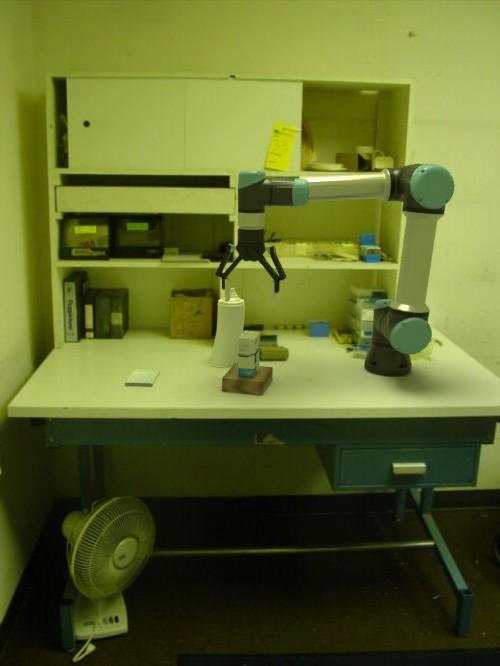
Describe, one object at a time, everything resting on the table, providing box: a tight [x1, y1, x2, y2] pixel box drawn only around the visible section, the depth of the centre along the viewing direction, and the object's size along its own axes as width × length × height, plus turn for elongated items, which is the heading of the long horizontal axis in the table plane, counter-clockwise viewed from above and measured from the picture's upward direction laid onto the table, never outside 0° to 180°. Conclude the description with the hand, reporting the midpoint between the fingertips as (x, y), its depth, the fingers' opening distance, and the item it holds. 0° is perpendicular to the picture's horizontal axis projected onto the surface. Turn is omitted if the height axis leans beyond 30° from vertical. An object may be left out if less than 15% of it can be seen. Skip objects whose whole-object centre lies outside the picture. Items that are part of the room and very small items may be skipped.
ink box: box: [237, 330, 261, 377], centre depth 181 cm, size 8×5×12 cm, turn 167°
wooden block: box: [221, 362, 274, 396], centre depth 183 cm, size 12×14×4 cm
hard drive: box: [124, 368, 161, 388], centre depth 187 cm, size 2×8×12 cm
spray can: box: [209, 287, 246, 368], centre depth 201 cm, size 12×11×25 cm
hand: (250, 302), depth 177 cm, fingers open, 13 cm apart
